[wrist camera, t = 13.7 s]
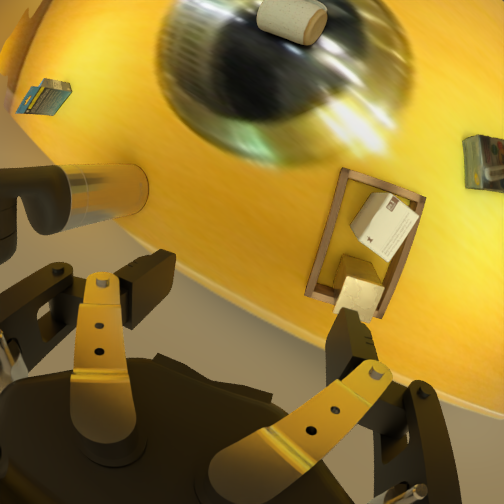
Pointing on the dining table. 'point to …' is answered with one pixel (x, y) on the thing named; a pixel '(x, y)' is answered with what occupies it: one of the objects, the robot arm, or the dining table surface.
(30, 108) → the label tape cartridge
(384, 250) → the skincare box
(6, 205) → the robot arm
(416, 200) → the crate
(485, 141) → the beverage carton
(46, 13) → the dining table surface
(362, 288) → the tea tin
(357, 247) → the dining table surface
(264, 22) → the ceramic mug
